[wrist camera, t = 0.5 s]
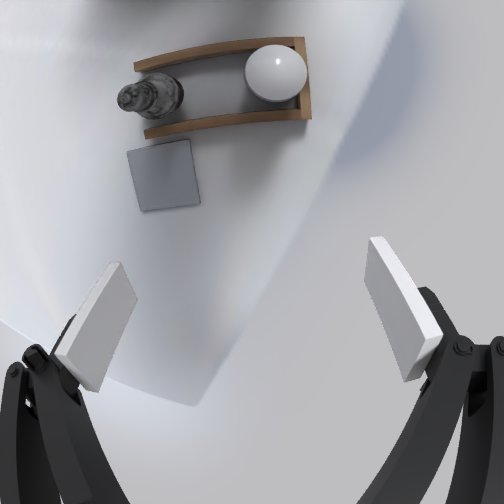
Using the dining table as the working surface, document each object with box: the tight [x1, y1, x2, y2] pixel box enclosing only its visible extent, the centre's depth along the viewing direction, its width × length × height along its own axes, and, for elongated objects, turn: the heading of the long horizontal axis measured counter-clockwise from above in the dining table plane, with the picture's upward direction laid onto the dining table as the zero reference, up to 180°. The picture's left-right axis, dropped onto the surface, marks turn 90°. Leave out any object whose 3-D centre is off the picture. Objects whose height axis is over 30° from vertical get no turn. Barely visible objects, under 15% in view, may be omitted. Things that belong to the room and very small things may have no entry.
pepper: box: [244, 45, 307, 102], centre depth 24 cm, size 6×6×11 cm
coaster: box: [127, 139, 200, 211], centre depth 36 cm, size 9×9×1 cm
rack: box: [134, 37, 312, 140], centre depth 28 cm, size 10×20×2 cm, turn 96°
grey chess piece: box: [117, 73, 184, 120], centre depth 25 cm, size 6×6×12 cm
